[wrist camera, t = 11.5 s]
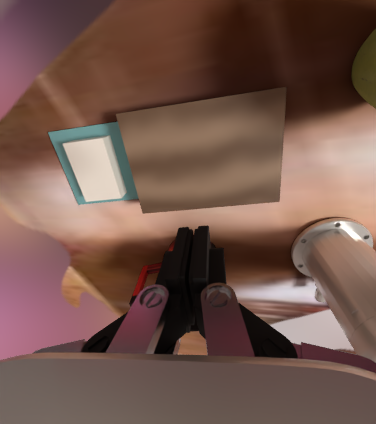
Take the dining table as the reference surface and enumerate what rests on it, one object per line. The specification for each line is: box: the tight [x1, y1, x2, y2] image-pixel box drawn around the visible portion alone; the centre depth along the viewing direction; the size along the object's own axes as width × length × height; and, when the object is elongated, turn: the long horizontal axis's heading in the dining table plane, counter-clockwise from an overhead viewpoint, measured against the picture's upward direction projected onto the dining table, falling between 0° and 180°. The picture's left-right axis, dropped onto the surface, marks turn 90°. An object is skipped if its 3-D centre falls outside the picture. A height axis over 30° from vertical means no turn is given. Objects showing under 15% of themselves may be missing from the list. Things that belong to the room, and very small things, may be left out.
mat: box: [48, 122, 139, 205], centre depth 33 cm, size 12×12×1 cm
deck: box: [116, 87, 287, 214], centre depth 30 cm, size 14×20×4 cm
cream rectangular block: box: [63, 135, 127, 202], centre depth 32 cm, size 9×6×2 cm, turn 8°
